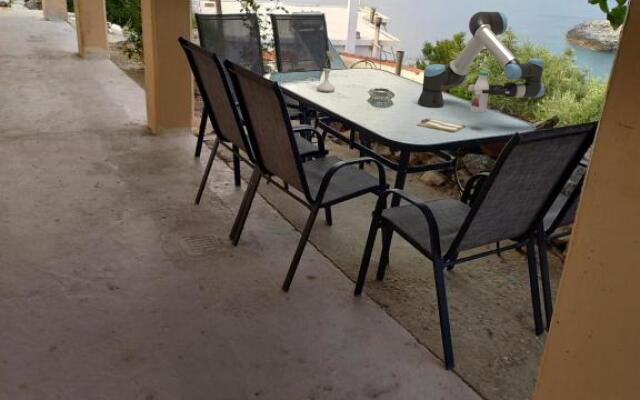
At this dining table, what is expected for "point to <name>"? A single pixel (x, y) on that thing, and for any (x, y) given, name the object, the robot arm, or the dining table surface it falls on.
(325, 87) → the flower in vase
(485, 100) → the milk bottle
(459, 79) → the robot arm
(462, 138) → the dining table surface
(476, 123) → the dining table surface
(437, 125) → the clipboard
